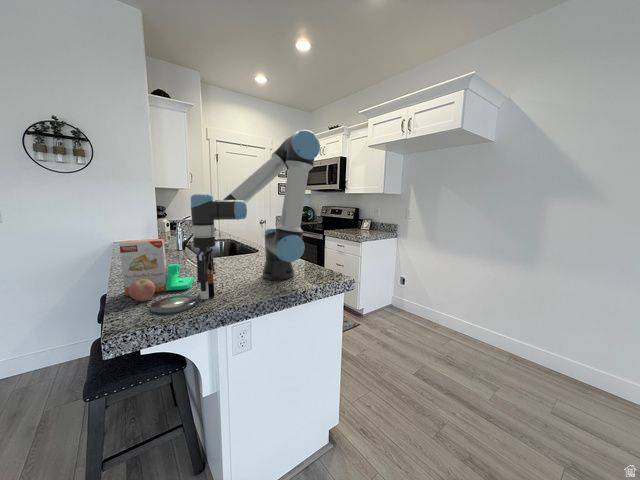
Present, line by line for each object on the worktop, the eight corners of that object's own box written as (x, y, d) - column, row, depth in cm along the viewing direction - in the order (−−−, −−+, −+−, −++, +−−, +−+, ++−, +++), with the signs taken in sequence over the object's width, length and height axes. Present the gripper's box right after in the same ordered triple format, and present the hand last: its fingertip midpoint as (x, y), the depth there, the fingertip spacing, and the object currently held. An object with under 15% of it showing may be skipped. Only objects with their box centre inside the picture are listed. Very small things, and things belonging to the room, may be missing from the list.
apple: (126, 305, 92) (123, 283, 91) (135, 297, 99) (133, 277, 98) (151, 303, 94) (149, 281, 92) (159, 296, 101) (157, 275, 100)
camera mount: (187, 291, 106) (185, 266, 105) (166, 293, 105) (164, 268, 103) (194, 282, 118) (192, 260, 116) (175, 283, 116) (173, 261, 115)
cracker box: (124, 297, 100) (118, 242, 97) (128, 292, 105) (122, 240, 102) (167, 291, 106) (162, 240, 103) (168, 287, 111) (163, 238, 108)
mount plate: (201, 297, 100) (201, 294, 99) (189, 312, 86) (189, 309, 86) (161, 299, 97) (161, 296, 97) (142, 315, 84) (142, 312, 83)
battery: (201, 299, 98) (199, 273, 96) (202, 293, 104) (200, 268, 103) (214, 297, 100) (212, 271, 98) (214, 291, 106) (212, 267, 104)
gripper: (201, 232, 108) (204, 286, 111) (183, 240, 88) (188, 305, 91) (220, 232, 109) (223, 285, 112) (207, 240, 89) (211, 304, 92)
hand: (207, 294), depth 102 cm, fingers open, 8 cm apart
